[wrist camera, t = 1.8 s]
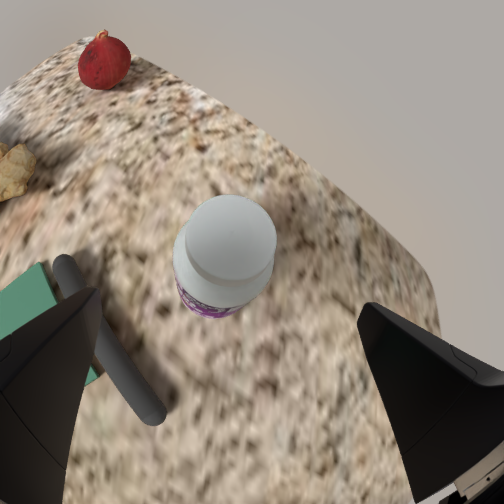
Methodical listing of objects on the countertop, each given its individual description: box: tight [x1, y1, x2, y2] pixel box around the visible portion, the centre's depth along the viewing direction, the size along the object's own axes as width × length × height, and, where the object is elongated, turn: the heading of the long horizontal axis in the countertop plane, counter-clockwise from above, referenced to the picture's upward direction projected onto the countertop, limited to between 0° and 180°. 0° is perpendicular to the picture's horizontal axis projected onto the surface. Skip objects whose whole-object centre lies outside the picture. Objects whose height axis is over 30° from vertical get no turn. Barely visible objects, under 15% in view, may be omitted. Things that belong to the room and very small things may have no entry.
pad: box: [0, 262, 100, 387], centre depth 16 cm, size 10×10×1 cm
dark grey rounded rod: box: [52, 254, 166, 426], centre depth 17 cm, size 14×2×2 cm, turn 38°
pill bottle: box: [173, 194, 277, 319], centre depth 17 cm, size 5×5×10 cm
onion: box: [78, 30, 131, 90], centre depth 22 cm, size 6×6×8 cm
